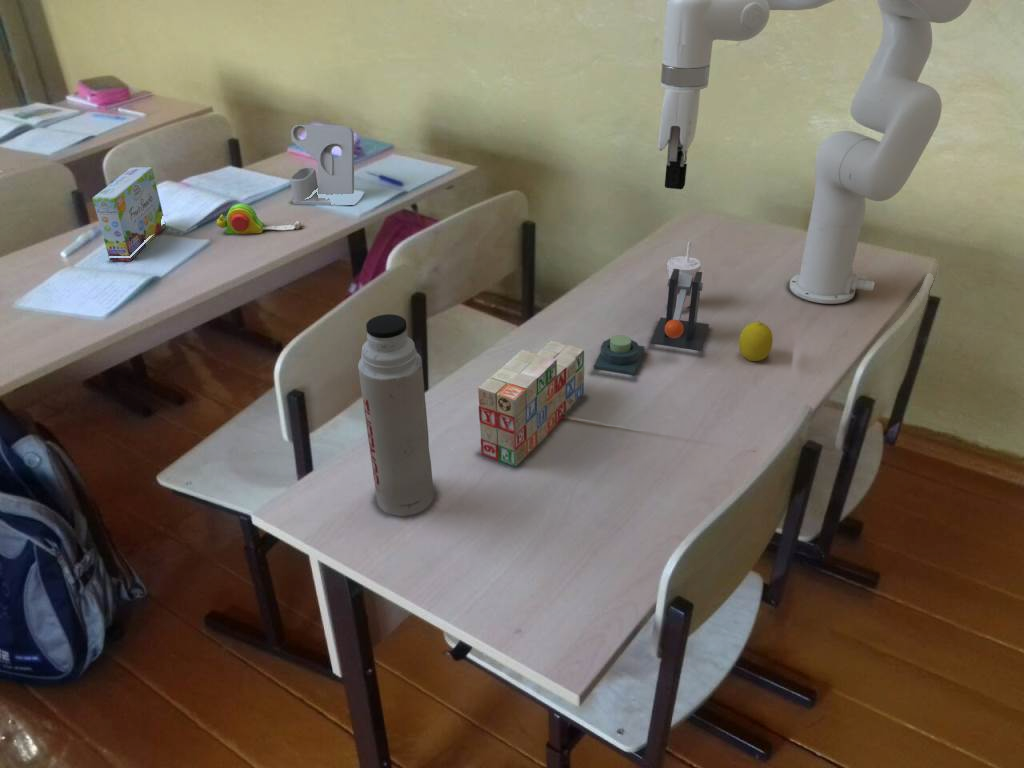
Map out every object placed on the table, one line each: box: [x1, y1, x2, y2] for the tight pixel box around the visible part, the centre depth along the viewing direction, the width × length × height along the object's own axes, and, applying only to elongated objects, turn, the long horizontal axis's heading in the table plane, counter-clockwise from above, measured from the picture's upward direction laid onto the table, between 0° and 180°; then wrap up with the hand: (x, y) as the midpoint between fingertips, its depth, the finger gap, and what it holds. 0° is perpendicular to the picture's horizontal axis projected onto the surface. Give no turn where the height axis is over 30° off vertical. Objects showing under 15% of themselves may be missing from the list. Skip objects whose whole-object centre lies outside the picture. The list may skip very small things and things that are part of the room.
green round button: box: [609, 334, 632, 353], centre depth 143 cm, size 4×4×2 cm
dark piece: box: [593, 337, 646, 376], centre depth 144 cm, size 9×7×4 cm
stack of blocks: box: [477, 340, 585, 468], centre depth 126 cm, size 21×6×12 cm, turn 148°
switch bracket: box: [649, 269, 709, 352], centre depth 148 cm, size 10×9×13 cm
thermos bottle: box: [357, 313, 435, 517], centre depth 108 cm, size 8×8×28 cm
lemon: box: [738, 320, 774, 362], centre depth 142 cm, size 6×6×8 cm
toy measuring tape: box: [216, 203, 302, 235], centre depth 197 cm, size 6×20×7 cm, turn 96°
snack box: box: [91, 166, 167, 262], centre depth 190 cm, size 21×6×15 cm, turn 179°
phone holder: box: [289, 124, 355, 207], centre depth 212 cm, size 17×10×18 cm, turn 81°
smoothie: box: [666, 240, 702, 309], centre depth 158 cm, size 6×6×14 cm
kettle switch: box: [665, 274, 693, 338], centre depth 143 cm, size 13×3×3 cm, turn 161°
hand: (674, 186), depth 141 cm, fingers closed
